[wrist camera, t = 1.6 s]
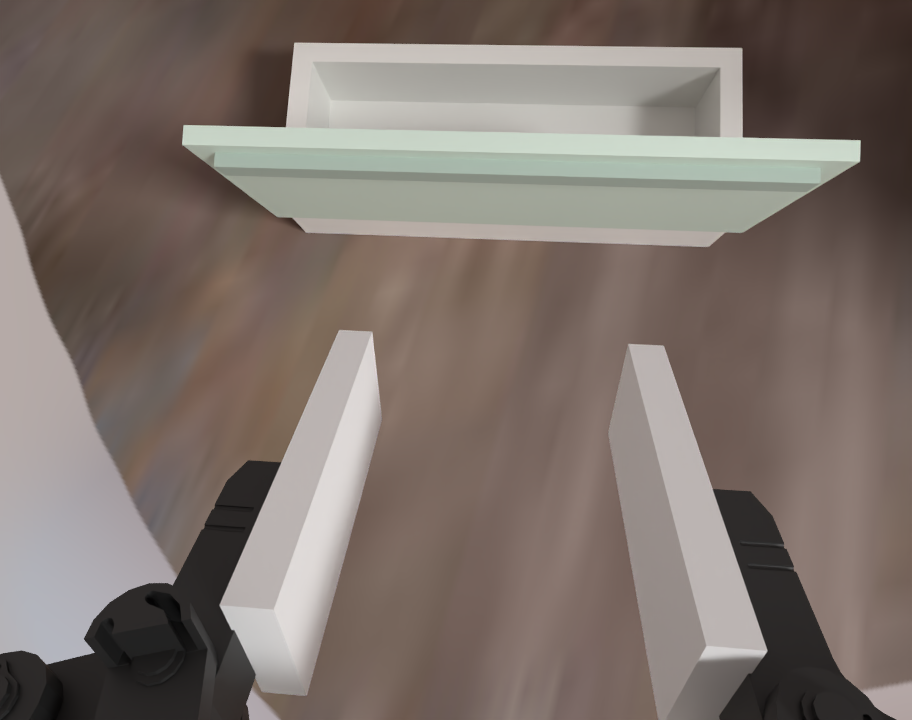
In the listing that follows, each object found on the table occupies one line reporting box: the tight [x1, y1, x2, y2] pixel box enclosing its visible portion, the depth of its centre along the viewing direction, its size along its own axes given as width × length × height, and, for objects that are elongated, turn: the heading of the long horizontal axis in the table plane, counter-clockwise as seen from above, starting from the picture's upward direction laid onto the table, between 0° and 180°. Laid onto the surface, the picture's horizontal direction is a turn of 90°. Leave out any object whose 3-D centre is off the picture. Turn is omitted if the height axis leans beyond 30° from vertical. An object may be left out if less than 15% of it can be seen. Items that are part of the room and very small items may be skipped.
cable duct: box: [286, 43, 743, 247], centre depth 35 cm, size 26×10×5 cm, turn 87°
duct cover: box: [182, 125, 861, 233], centre depth 27 cm, size 26×10×1 cm
